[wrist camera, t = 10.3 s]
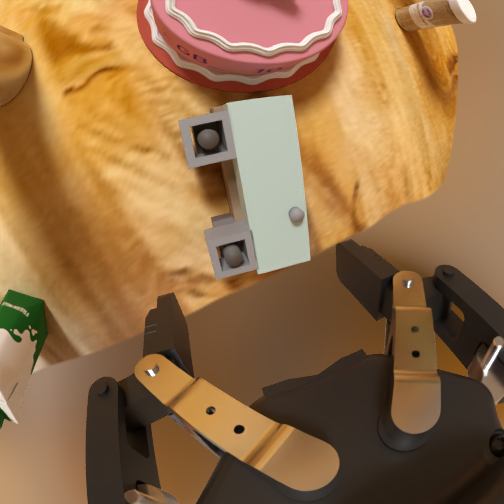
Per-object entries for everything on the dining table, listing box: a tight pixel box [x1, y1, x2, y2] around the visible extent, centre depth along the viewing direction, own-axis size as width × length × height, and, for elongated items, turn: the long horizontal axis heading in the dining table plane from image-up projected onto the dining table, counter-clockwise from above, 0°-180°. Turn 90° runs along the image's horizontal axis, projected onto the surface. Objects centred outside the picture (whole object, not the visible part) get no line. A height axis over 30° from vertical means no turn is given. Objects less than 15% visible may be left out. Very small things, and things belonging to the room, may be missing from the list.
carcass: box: [191, 106, 243, 266], centre depth 29 cm, size 18×10×7 cm, turn 9°
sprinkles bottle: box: [395, 0, 476, 32], centre depth 20 cm, size 5×5×13 cm
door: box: [179, 95, 310, 280], centre depth 27 cm, size 18×11×4 cm, turn 9°
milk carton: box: [0, 290, 48, 429], centre depth 23 cm, size 9×9×20 cm
